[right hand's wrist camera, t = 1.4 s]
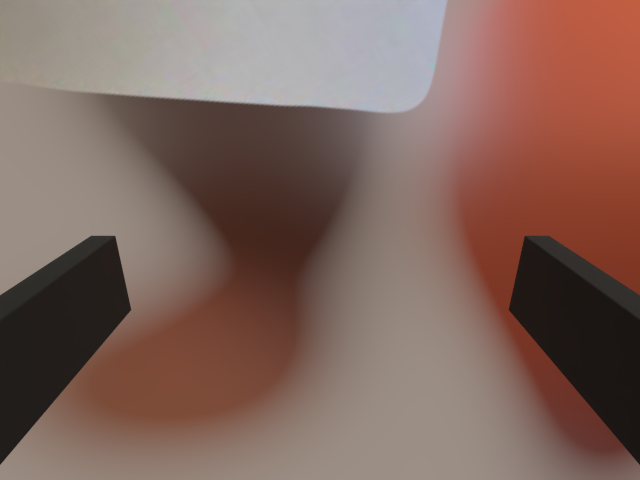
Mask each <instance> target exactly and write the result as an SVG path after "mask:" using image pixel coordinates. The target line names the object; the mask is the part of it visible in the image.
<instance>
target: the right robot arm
mask: <svg viewBox="0 0 640 480" xmlns="http://www.w3.org/2000/svg"><path fill="white" fill-rule="evenodd" d="M130 311H131V307H130V303H129V298H128V293H127V288H126V284H125V279H124V275H123V270H122V265H121V261H120V256H119V251H118V247H117V242H116V238H115V236H91V237H89V238H87V239H86V240H84V241H83V242H81V243H80V244H78V245H77V246H75V247H74V248H72V249H70V250H69V251H67V252H66V253H64V254H63V255H61V256H60V257H58V258H57V259H55V260H54V261H52V262H51V263H49V264H48V265H46V266H44V267H43V268H41V269H40V270H38V271H37V272H35V273H34V274H32V275H31V276H29V277H28V278H26V279H25V280H23V281H22V282H20V283H19V284H17V285H15V286H14V287H12V288H11V289H9V290H8V291H6V292H5V293H3V294H2V295H0V464H1V463H2V462H3V461H4V460H5V458H6V457H7V456H8V455H9V454H10V452H11V451H12V450H13V449H14V448H15V447H16V445H17V444H18V443H19V442H20V441H21V439H22V438H23V437H24V436H25V435H26V434H27V432H28V431H29V430H30V429H31V428H32V426H33V425H34V424H35V423H36V422H37V421H38V419H39V418H40V417H41V416H42V415H43V413H44V412H45V411H46V410H47V409H48V408H49V406H50V405H51V404H52V403H53V402H54V400H55V399H56V398H57V397H58V396H59V395H60V393H61V392H62V391H63V390H64V389H65V387H66V386H67V385H68V384H69V383H70V381H71V380H72V379H73V378H74V377H75V376H76V374H77V373H78V372H79V371H80V370H81V368H82V367H83V366H84V365H85V364H86V363H87V361H88V360H89V359H90V358H91V357H92V355H93V354H94V353H95V352H96V351H97V349H98V348H99V347H100V346H101V345H102V344H103V342H104V341H105V340H106V339H107V338H108V337H109V335H110V334H111V333H112V332H113V331H114V329H115V328H116V327H117V326H118V325H119V324H120V322H121V321H122V320H123V319H124V318H125V316H126V315H127V314H128V313H129V312H130ZM509 311H510V312H511V313H512V314H513V315H514V316H515V318H516V319H517V320H518V321H519V322H520V324H521V325H522V326H523V327H524V328H525V329H526V331H527V332H528V333H529V334H530V335H531V336H532V338H533V339H534V340H535V341H536V342H537V344H538V345H539V346H540V347H541V348H542V350H543V351H544V352H545V353H546V354H547V355H548V357H549V358H550V359H551V360H552V361H553V363H554V364H555V365H556V366H557V367H558V369H559V370H560V371H561V372H562V373H563V374H564V376H565V377H566V378H567V379H568V380H569V382H570V383H571V384H572V385H573V386H574V387H575V389H576V390H577V391H578V392H579V393H580V395H581V396H582V397H583V398H584V399H585V400H586V402H587V403H588V404H589V405H590V406H591V408H592V409H593V410H594V411H595V412H596V413H597V415H598V416H599V417H600V418H601V419H602V421H603V422H604V423H605V424H606V425H607V426H608V428H609V429H610V430H611V431H612V432H613V434H614V435H615V436H616V437H617V438H618V439H619V441H620V442H621V443H622V444H623V445H624V446H625V448H626V449H627V450H628V451H629V453H630V454H631V455H632V456H633V457H634V458H635V460H636V461H637V462H638V463H639V464H640V295H638V294H637V293H635V292H634V291H632V290H631V289H629V288H628V287H626V286H625V285H623V284H622V283H620V282H618V281H617V280H615V279H614V278H612V277H611V276H609V275H608V274H606V273H605V272H603V271H602V270H600V269H599V268H597V267H596V266H594V265H592V264H591V263H589V262H588V261H586V260H585V259H583V258H582V257H580V256H579V255H577V254H576V253H574V252H573V251H571V250H570V249H568V248H566V247H565V246H563V245H562V244H560V243H559V242H557V241H556V240H554V239H553V238H551V237H550V236H525V237H524V242H523V247H522V251H521V256H520V261H519V265H518V270H517V275H516V279H515V284H514V288H513V293H512V298H511V302H510V307H509Z"/></svg>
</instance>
